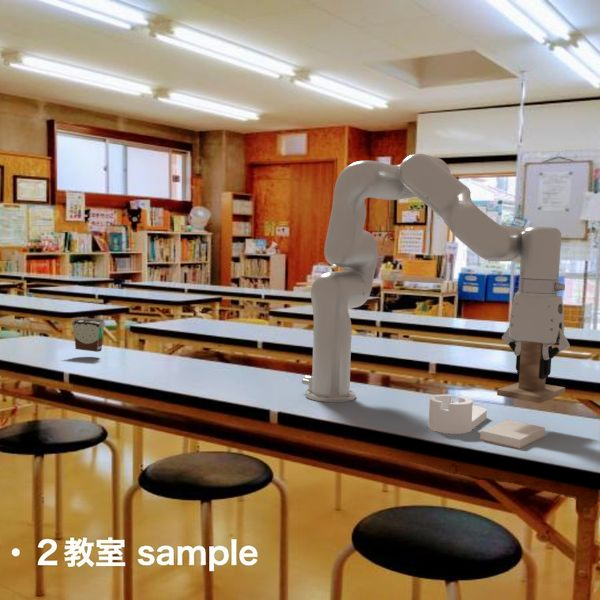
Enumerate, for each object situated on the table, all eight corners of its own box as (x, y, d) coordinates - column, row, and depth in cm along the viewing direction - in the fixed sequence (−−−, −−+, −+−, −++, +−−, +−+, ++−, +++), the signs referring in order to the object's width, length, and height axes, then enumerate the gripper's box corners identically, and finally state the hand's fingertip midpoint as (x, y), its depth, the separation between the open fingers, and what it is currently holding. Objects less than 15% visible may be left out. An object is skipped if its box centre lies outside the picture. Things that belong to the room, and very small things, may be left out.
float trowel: (496, 395, 138) (500, 340, 137) (523, 385, 148) (526, 335, 147) (540, 403, 132) (543, 346, 131) (564, 393, 142) (568, 340, 141)
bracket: (464, 439, 135) (465, 406, 135) (422, 432, 140) (424, 400, 139) (489, 417, 153) (491, 388, 152) (451, 411, 157) (453, 383, 156)
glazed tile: (506, 429, 141) (480, 440, 132) (507, 419, 141) (480, 430, 132) (544, 437, 136) (519, 450, 127) (545, 427, 136) (520, 439, 127)
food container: (113, 349, 226) (113, 320, 226) (100, 352, 221) (101, 321, 220) (85, 346, 232) (85, 317, 231) (72, 348, 226) (72, 319, 225)
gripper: (586, 290, 135) (580, 380, 137) (507, 284, 146) (502, 367, 148) (573, 291, 129) (566, 385, 131) (491, 285, 140) (486, 372, 142)
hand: (532, 375), depth 139 cm, fingers closed on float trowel, 4 cm apart
